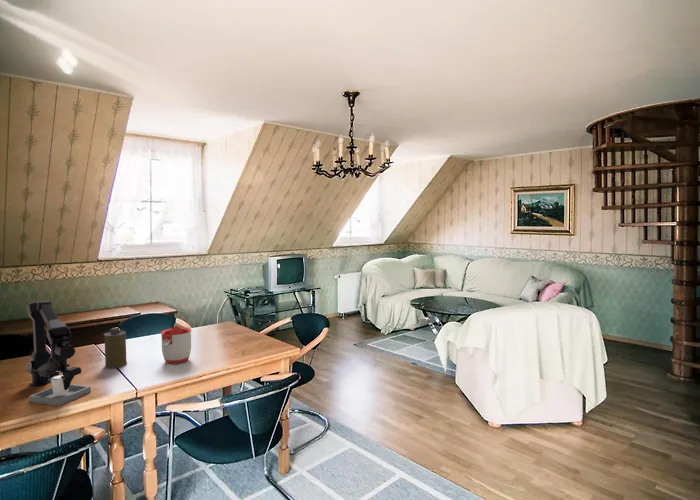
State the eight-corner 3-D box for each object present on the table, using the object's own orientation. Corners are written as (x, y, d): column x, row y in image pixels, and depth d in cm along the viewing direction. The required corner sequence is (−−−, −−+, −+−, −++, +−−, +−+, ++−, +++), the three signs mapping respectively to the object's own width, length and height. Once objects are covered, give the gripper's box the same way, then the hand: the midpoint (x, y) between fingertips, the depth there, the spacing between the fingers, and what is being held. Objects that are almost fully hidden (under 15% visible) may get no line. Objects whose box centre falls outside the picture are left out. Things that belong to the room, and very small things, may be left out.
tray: (29, 401, 188) (29, 395, 188) (64, 387, 203) (63, 382, 203) (57, 406, 183) (57, 400, 183) (90, 391, 198) (90, 386, 198)
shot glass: (73, 389, 196) (72, 374, 196) (63, 395, 190) (63, 379, 189) (57, 389, 196) (57, 374, 196) (47, 395, 189) (46, 379, 189)
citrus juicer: (152, 365, 235) (151, 328, 233) (174, 355, 251) (173, 321, 250) (177, 368, 230) (176, 330, 229) (198, 358, 247) (197, 323, 245)
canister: (120, 368, 230) (119, 330, 228) (100, 368, 230) (99, 330, 229) (131, 361, 241) (129, 325, 239) (112, 361, 241) (111, 325, 239)
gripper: (24, 357, 187) (26, 393, 188) (57, 362, 181) (59, 398, 182) (49, 350, 197) (51, 384, 199) (81, 354, 192) (83, 389, 193)
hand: (60, 389), depth 193 cm, fingers closed on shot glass, 6 cm apart
